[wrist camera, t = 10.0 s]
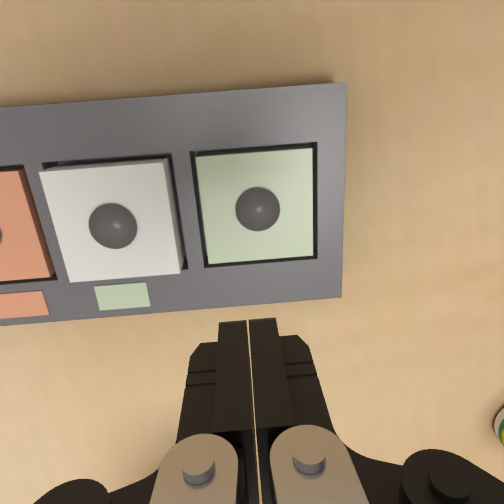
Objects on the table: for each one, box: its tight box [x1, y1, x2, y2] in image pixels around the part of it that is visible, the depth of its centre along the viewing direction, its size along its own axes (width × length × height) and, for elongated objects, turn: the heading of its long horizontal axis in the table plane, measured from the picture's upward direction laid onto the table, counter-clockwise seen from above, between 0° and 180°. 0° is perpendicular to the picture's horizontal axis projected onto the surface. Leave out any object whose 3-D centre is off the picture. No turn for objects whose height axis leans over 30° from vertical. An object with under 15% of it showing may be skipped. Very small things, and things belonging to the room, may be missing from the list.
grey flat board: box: [0, 82, 347, 326], centre depth 21 cm, size 12×32×2 cm, turn 94°
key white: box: [39, 157, 184, 283], centre depth 20 cm, size 6×6×2 cm
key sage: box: [196, 144, 313, 264], centre depth 21 cm, size 6×6×2 cm
